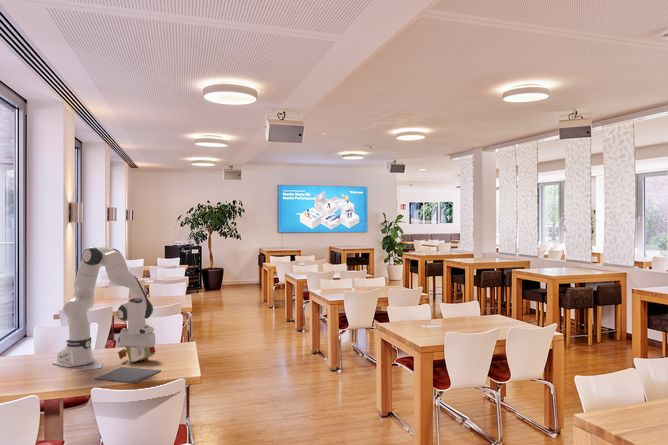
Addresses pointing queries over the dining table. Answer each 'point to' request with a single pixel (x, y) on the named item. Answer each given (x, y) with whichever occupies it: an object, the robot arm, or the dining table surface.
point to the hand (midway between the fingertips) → (137, 354)
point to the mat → (128, 375)
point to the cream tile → (136, 353)
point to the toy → (147, 353)
